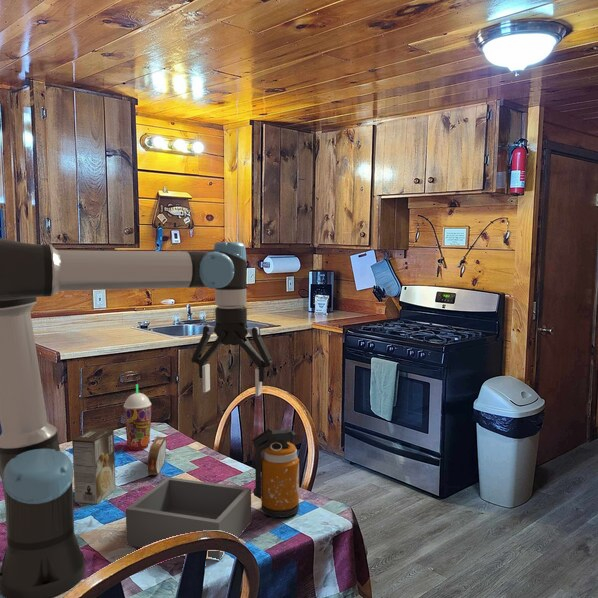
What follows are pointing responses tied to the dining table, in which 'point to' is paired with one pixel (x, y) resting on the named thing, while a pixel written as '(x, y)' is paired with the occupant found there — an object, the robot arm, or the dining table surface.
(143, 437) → the smoothie
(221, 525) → the bin
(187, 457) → the dining table surface
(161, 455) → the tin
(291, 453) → the canister
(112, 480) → the coffee box
